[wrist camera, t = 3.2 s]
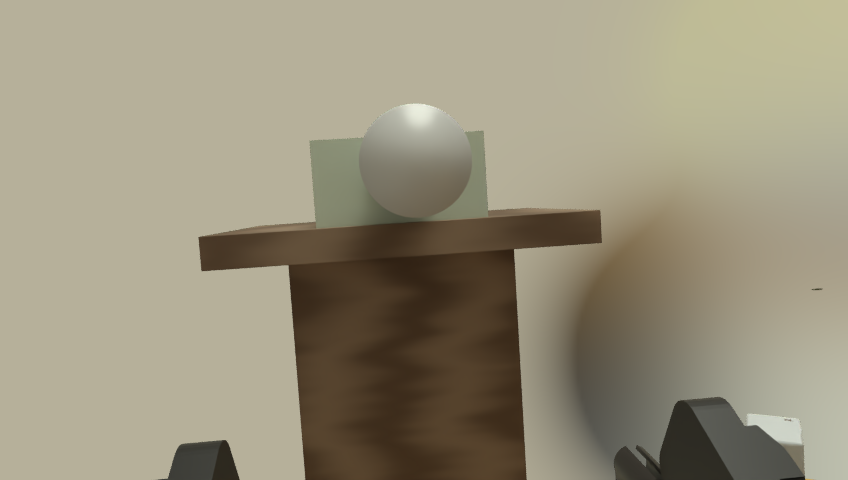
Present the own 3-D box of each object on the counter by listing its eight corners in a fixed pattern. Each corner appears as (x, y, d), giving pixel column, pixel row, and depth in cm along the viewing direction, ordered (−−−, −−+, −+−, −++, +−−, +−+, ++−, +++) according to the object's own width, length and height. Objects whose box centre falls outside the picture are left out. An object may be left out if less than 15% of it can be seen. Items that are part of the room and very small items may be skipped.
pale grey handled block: (464, 214, 36) (460, 147, 36) (567, 226, 16) (560, 76, 16) (330, 223, 36) (325, 154, 36) (268, 246, 16) (256, 92, 16)
